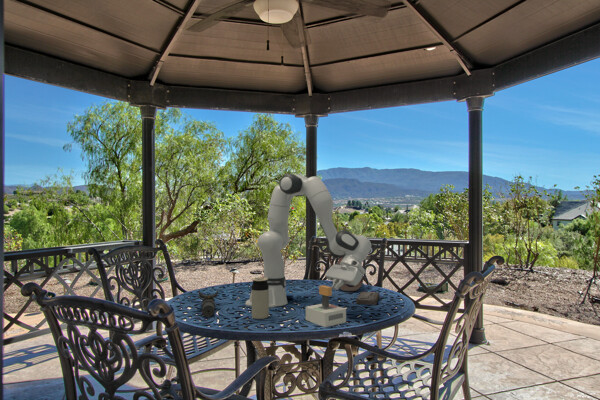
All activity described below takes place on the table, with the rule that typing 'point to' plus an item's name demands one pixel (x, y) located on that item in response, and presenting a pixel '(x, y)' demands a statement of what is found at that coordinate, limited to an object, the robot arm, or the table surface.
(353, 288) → the ceramic pitcher
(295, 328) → the table surface
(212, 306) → the laser sight
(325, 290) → the lever
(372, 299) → the box
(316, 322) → the block
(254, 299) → the travel mug
